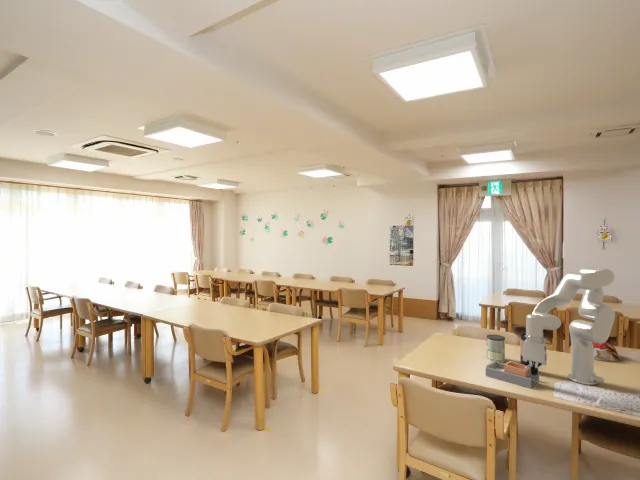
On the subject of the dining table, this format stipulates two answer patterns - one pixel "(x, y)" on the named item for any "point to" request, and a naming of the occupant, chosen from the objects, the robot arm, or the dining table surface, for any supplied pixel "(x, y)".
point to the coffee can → (496, 348)
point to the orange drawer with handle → (517, 369)
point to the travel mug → (523, 337)
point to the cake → (605, 352)
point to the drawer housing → (510, 375)
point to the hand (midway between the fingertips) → (534, 374)
